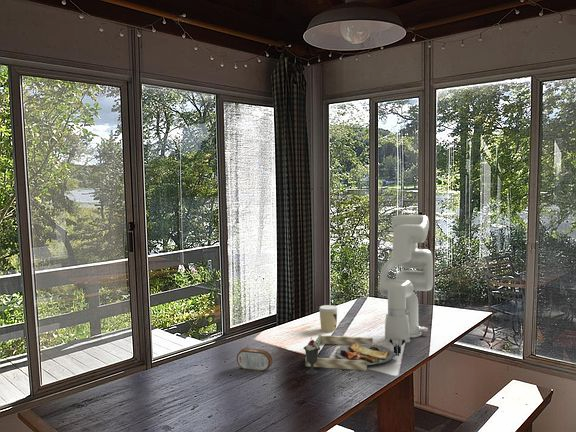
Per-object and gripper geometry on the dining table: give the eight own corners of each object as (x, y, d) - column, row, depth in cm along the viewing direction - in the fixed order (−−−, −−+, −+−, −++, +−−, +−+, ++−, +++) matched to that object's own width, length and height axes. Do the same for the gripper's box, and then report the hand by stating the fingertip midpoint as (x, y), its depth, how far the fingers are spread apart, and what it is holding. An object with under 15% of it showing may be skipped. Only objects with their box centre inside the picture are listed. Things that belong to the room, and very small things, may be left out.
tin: (272, 370, 198) (272, 349, 197) (270, 372, 195) (269, 352, 194) (239, 366, 203) (238, 346, 202) (236, 369, 200) (235, 349, 199)
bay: (372, 345, 225) (372, 337, 225) (366, 370, 195) (366, 361, 195) (319, 342, 231) (319, 335, 231) (305, 366, 201) (305, 357, 201)
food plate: (325, 357, 209) (325, 349, 209) (355, 344, 227) (355, 337, 226) (375, 373, 193) (375, 364, 192) (404, 357, 210) (404, 349, 210)
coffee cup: (338, 332, 246) (338, 309, 245) (320, 332, 246) (319, 309, 245) (337, 327, 255) (336, 304, 254) (319, 327, 255) (318, 305, 255)
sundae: (309, 377, 189) (308, 339, 188) (301, 371, 195) (300, 334, 194) (323, 373, 192) (323, 336, 191) (315, 368, 198) (314, 332, 197)
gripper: (414, 310, 207) (415, 353, 208) (379, 309, 211) (379, 351, 212) (415, 315, 200) (415, 358, 201) (378, 313, 203) (379, 356, 204)
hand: (397, 354), depth 206 cm, fingers closed
